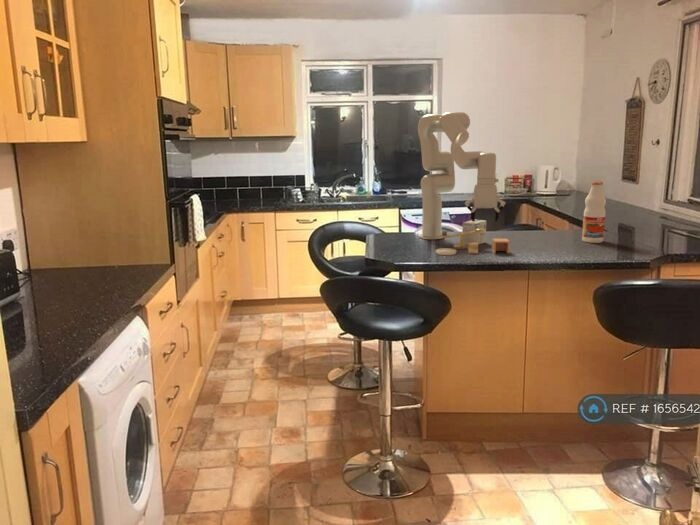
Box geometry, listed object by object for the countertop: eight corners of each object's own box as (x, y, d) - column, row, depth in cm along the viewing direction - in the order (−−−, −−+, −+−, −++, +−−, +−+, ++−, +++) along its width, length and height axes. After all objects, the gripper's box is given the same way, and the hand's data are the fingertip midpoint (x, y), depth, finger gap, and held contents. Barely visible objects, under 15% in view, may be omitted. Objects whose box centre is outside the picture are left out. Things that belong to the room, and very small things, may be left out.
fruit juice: (597, 239, 280) (602, 180, 273) (606, 242, 271) (611, 182, 264) (578, 239, 280) (582, 181, 273) (586, 243, 271) (591, 183, 264)
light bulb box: (474, 240, 282) (475, 218, 279) (486, 242, 277) (487, 220, 274) (461, 244, 274) (462, 221, 272) (473, 246, 270) (474, 223, 267)
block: (467, 251, 260) (468, 242, 259) (476, 251, 259) (477, 242, 258) (468, 253, 256) (469, 244, 255) (478, 253, 255) (478, 244, 254)
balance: (438, 246, 270) (439, 228, 268) (482, 246, 268) (483, 228, 266) (439, 249, 265) (440, 230, 263) (484, 248, 263) (485, 230, 261)
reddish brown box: (491, 250, 260) (492, 238, 259) (506, 250, 259) (506, 238, 258) (494, 253, 254) (494, 241, 252) (508, 253, 253) (509, 241, 252)
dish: (435, 250, 261) (435, 248, 261) (455, 250, 260) (455, 248, 260) (436, 255, 252) (436, 252, 252) (457, 255, 252) (457, 252, 251)
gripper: (504, 180, 253) (502, 219, 257) (464, 181, 254) (463, 219, 258) (508, 182, 246) (506, 222, 250) (467, 182, 247) (465, 222, 251)
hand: (484, 220), depth 254 cm, fingers open, 9 cm apart
